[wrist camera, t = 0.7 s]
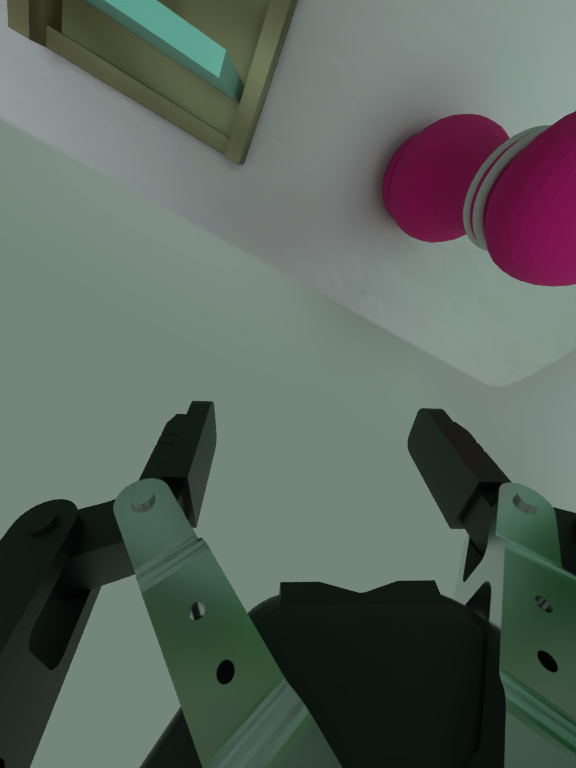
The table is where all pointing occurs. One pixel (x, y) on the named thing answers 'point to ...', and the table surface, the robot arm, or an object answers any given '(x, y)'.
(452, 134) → the pepper mill
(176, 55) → the bar
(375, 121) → the table surface
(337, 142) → the table surface
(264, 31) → the pusher lane
